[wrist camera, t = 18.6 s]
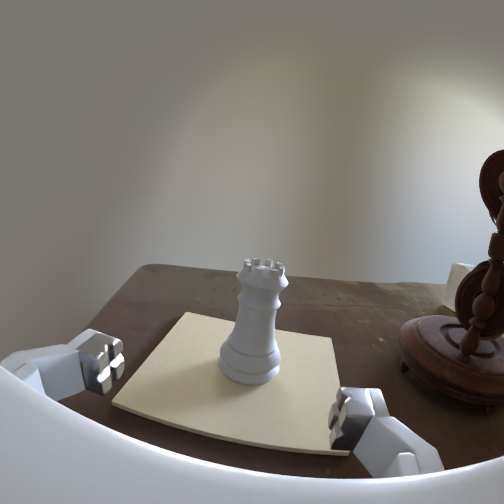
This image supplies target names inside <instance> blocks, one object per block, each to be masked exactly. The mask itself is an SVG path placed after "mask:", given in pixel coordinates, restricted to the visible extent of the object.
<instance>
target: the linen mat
mask: <svg viewBox="0 0 504 504" xmlns="http://www.w3.org/2000/svg"><path fill="white" fill-rule="evenodd" d="M234 326H235V322H232V321H227V320H222V319H217V318H212V317H208V316H203V315H198V314H194V313H189V312H186V313H185V314H184V315H183V316H182V318H181V319H180V320H179V321H178V322H177V323H176V325H175V326H174V327H173V328H172V329H171V331H170V332H169V333H168V334H167V335H166V336H165V338H164V339H163V340H162V341H161V342H160V344H159V345H158V346H157V347H156V348H155V350H154V351H153V352H152V353H151V354H150V355H149V357H148V358H147V359H146V360H145V361H144V363H143V364H142V365H141V366H140V367H139V369H138V370H137V371H136V372H135V373H134V375H133V376H132V377H131V378H130V379H129V381H128V382H127V383H126V384H125V385H124V387H123V388H122V389H121V390H120V391H119V393H118V394H117V395H116V396H115V397H114V399H113V400H112V405H113V406H116V407H118V408H121V409H123V410H126V411H128V412H131V413H134V414H136V415H139V416H142V417H144V418H147V419H150V420H153V421H156V422H159V423H162V424H165V425H168V426H172V427H175V428H178V429H182V430H185V431H189V432H192V433H196V434H200V435H204V436H208V437H212V438H216V439H220V440H225V441H229V442H234V443H239V444H244V445H250V446H255V447H261V448H268V449H274V450H282V451H290V452H298V453H309V454H321V455H339V456H348V455H349V453H350V451H340V450H330V441H329V436H330V434H331V430H330V429H329V428H328V417H329V412H330V409H331V406H332V404H333V403H335V402H336V401H337V400H336V394H337V391H338V389H339V388H340V383H339V378H338V372H337V367H336V361H335V356H334V351H333V346H332V341H331V338H326V337H319V336H312V335H306V334H299V333H293V332H287V331H281V330H275V332H274V336H275V340H276V342H277V347H278V349H279V352H280V356H281V360H280V362H279V372H278V374H277V376H276V377H274V378H273V379H271V380H270V381H268V382H267V383H265V384H261V385H257V386H248V385H242V384H238V383H235V382H233V381H231V380H230V379H228V378H227V377H226V376H225V375H224V374H223V373H222V371H221V370H220V368H219V367H218V358H219V357H220V347H221V345H222V344H223V343H224V341H225V340H226V339H228V336H229V334H230V333H231V332H232V331H233V329H234Z"/></svg>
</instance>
